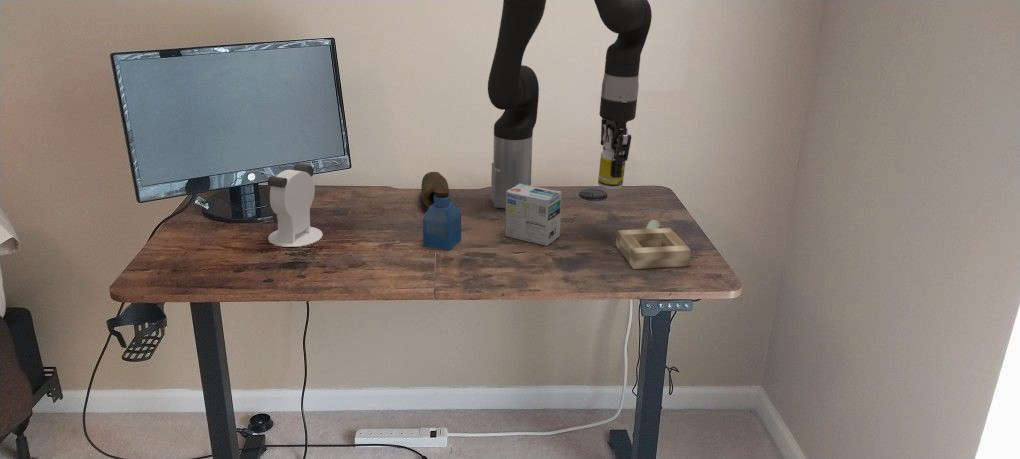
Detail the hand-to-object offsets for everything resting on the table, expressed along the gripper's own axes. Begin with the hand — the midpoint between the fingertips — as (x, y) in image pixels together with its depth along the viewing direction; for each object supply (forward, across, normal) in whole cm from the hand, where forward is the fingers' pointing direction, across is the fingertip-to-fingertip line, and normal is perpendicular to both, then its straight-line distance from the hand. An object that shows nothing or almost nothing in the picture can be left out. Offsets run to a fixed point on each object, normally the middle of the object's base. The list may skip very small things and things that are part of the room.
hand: (611, 172), depth 169 cm
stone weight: (+16, -24, -36) cm, 46 cm away
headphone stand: (+16, -6, -68) cm, 70 cm away
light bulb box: (+15, 0, -16) cm, 22 cm away
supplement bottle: (+3, 0, 0) cm, 3 cm away
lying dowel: (+14, +2, +9) cm, 16 cm away
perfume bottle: (+16, 0, -36) cm, 40 cm away
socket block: (+14, +12, +6) cm, 20 cm away
